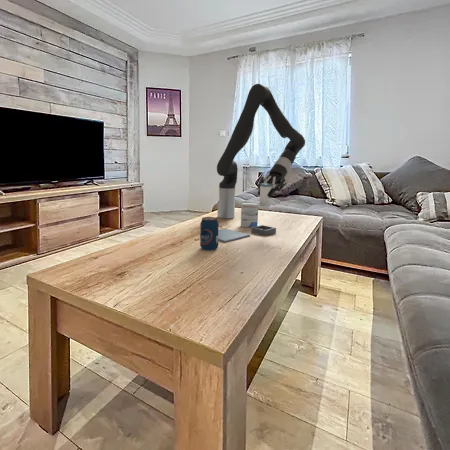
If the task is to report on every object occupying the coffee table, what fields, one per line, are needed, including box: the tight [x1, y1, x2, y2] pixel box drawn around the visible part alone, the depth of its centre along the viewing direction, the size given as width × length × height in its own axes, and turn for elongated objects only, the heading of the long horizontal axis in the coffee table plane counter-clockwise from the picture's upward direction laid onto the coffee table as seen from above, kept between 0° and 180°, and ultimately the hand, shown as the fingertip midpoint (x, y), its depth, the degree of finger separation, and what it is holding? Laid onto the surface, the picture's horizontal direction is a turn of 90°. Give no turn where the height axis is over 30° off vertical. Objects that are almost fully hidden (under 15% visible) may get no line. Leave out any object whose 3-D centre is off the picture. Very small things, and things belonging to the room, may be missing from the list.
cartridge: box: [258, 183, 272, 207], centre depth 145 cm, size 5×5×10 cm
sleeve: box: [251, 224, 277, 237], centre depth 148 cm, size 8×8×2 cm
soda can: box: [199, 216, 220, 252], centre depth 120 cm, size 7×7×12 cm
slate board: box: [218, 228, 251, 243], centre depth 141 cm, size 16×16×1 cm
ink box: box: [240, 202, 259, 228], centre depth 161 cm, size 8×5×12 cm, turn 84°
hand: (264, 195), depth 144 cm, fingers closed on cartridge, 5 cm apart
